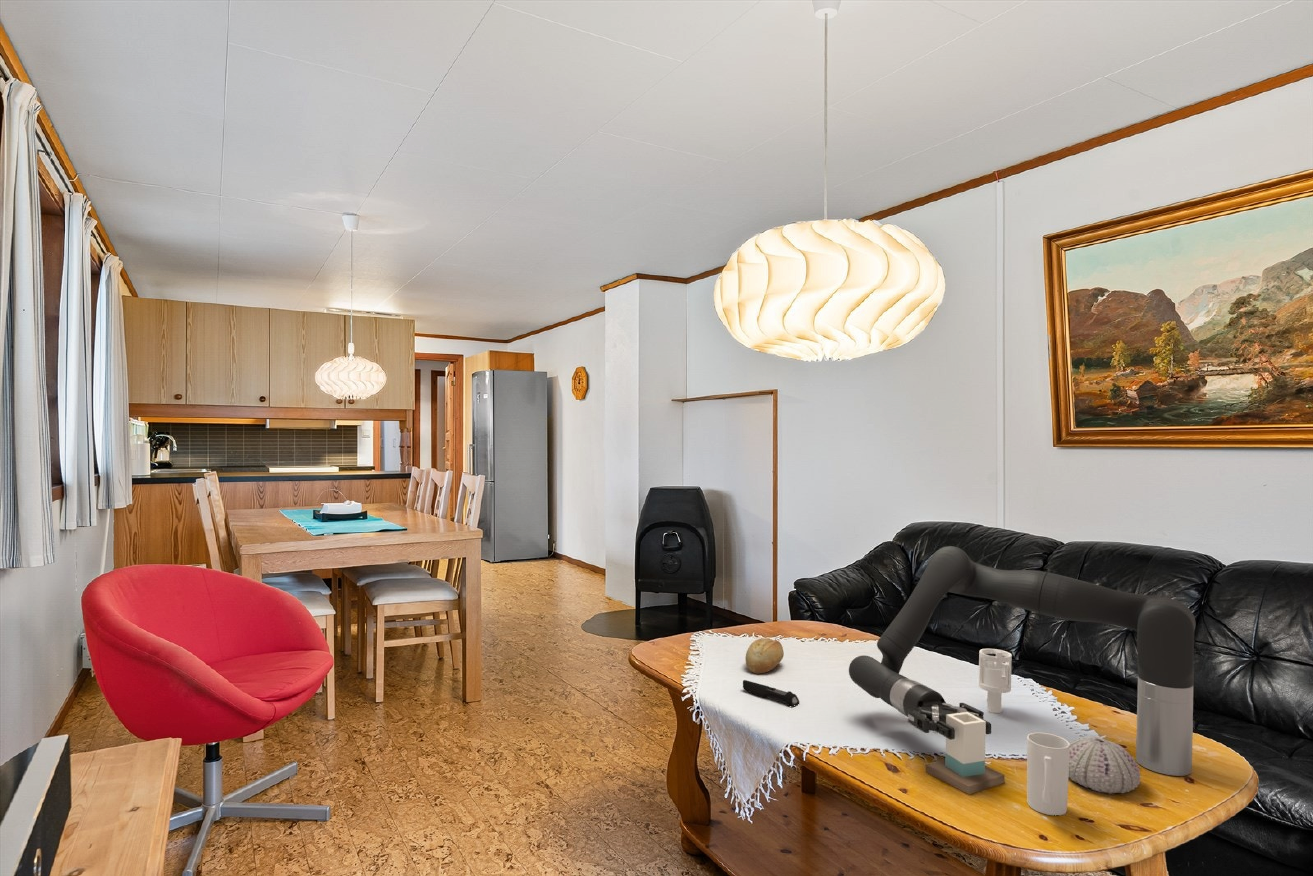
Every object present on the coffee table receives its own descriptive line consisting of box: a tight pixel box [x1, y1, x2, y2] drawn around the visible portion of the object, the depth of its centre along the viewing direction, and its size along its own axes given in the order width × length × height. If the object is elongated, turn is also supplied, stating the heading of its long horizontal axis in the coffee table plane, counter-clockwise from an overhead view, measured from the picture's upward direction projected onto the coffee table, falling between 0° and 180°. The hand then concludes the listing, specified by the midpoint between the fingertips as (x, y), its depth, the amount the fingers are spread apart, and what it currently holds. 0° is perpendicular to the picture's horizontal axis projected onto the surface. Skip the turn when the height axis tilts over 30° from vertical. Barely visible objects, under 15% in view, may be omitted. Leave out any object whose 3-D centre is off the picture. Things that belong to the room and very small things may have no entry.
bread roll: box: [745, 637, 785, 675], centre depth 208 cm, size 10×15×8 cm, turn 154°
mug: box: [1026, 732, 1071, 817], centre depth 132 cm, size 10×7×12 cm, turn 152°
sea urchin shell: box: [1068, 736, 1142, 795], centre depth 143 cm, size 13×14×8 cm
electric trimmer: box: [742, 679, 800, 707], centre depth 185 cm, size 4×16×3 cm, turn 47°
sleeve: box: [944, 712, 987, 777], centre depth 144 cm, size 5×5×10 cm
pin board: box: [925, 758, 1006, 795], centre depth 144 cm, size 10×10×6 cm
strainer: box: [978, 648, 1013, 714], centre depth 178 cm, size 7×7×15 cm
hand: (971, 732), depth 142 cm, fingers open, 8 cm apart
